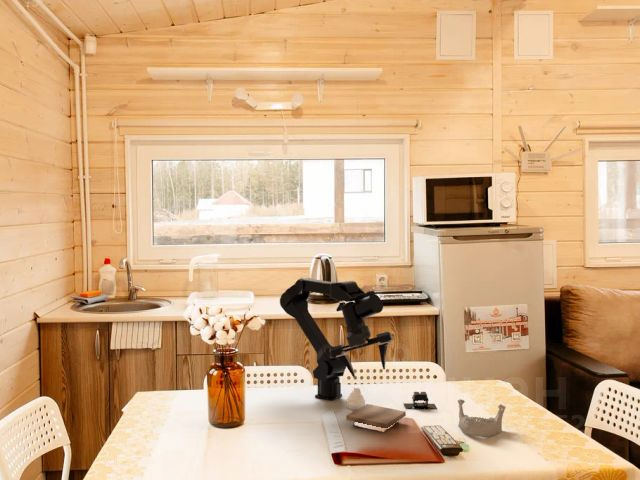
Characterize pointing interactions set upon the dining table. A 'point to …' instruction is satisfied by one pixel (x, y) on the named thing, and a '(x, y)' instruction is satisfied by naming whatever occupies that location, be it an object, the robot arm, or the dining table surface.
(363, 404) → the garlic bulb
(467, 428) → the anatomical model
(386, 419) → the walnut stand
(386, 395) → the dining table surface
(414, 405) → the build plate
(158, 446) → the dining table surface
